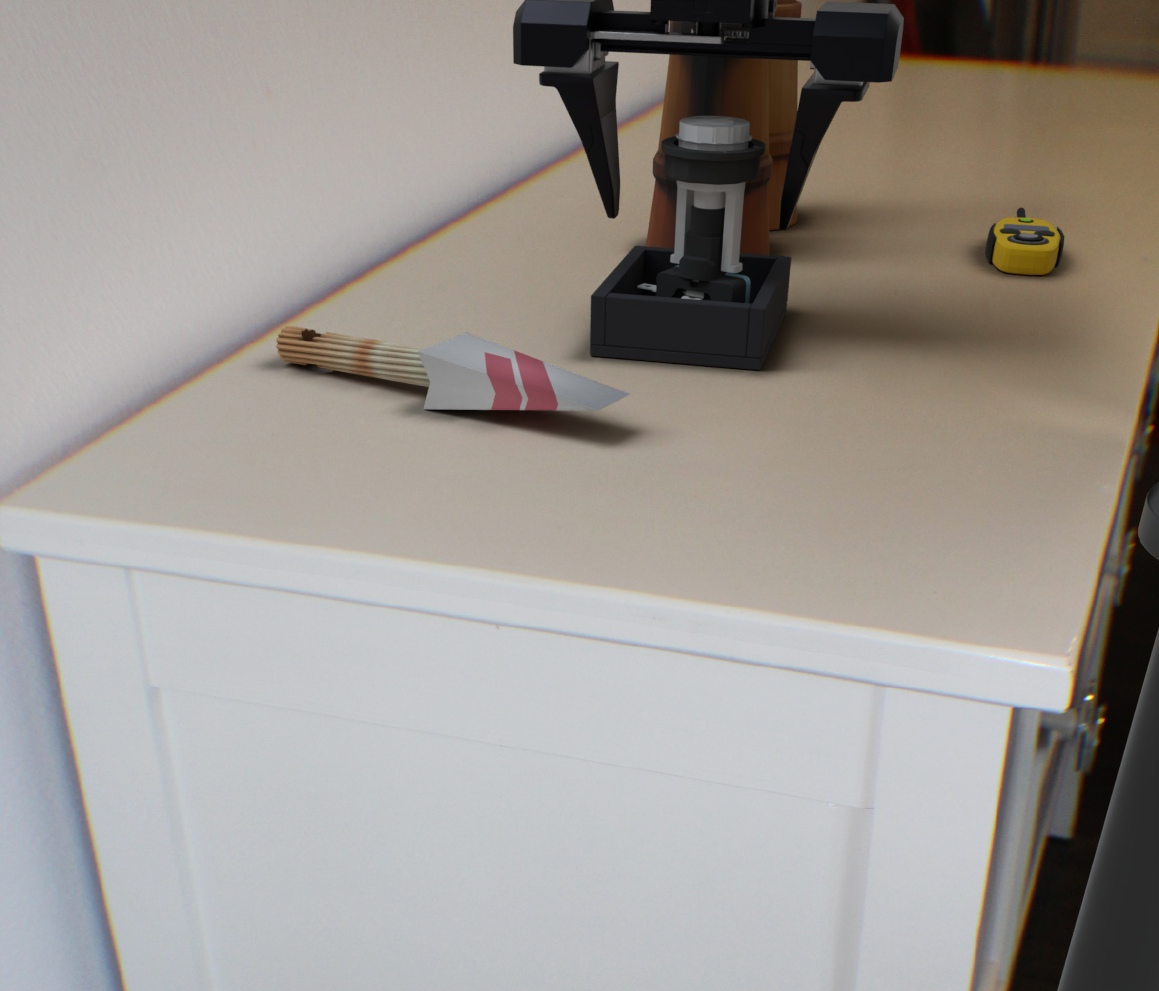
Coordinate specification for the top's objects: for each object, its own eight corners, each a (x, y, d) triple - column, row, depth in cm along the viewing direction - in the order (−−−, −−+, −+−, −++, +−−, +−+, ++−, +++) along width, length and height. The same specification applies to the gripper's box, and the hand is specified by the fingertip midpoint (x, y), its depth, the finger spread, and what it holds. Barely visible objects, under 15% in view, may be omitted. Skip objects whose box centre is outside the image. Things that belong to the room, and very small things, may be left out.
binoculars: (755, 270, 90) (785, -113, 78) (630, 259, 92) (641, -116, 80) (807, 209, 104) (839, -123, 93) (697, 201, 106) (715, -126, 94)
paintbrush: (590, 380, 62) (259, 324, 72) (591, 442, 64) (267, 380, 73) (637, 358, 65) (311, 307, 74) (637, 418, 67) (318, 360, 76)
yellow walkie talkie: (990, 241, 89) (988, 190, 101) (984, 273, 90) (983, 220, 102) (1070, 246, 89) (1059, 195, 100) (1063, 279, 90) (1053, 224, 101)
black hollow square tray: (786, 313, 83) (791, 256, 81) (760, 370, 74) (765, 308, 72) (632, 301, 84) (634, 245, 82) (589, 356, 76) (590, 295, 74)
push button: (615, 323, 78) (620, 120, 72) (663, 302, 82) (672, 107, 76) (722, 344, 76) (736, 135, 70) (767, 321, 79) (785, 120, 73)
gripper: (929, -137, 71) (885, 202, 80) (566, -144, 75) (564, 182, 84) (917, -130, 62) (870, 249, 72) (507, -139, 66) (512, 224, 75)
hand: (697, 222), depth 76 cm, fingers open, 9 cm apart
